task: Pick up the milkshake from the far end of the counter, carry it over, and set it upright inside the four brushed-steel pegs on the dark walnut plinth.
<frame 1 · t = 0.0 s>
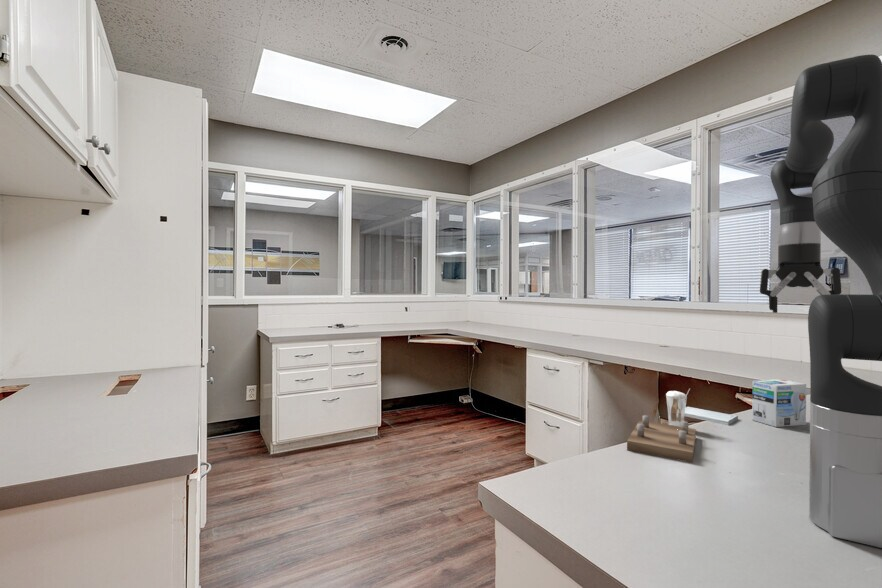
hand: (798, 313, 98), 29 cm above the counter, fingers open, 8 cm apart
light bulb box: (778, 423, 111), on the counter
milkshake: (677, 428, 106), on the counter
hard drive: (706, 419, 116), on the counter
peg plinth: (662, 443, 94), on the counter
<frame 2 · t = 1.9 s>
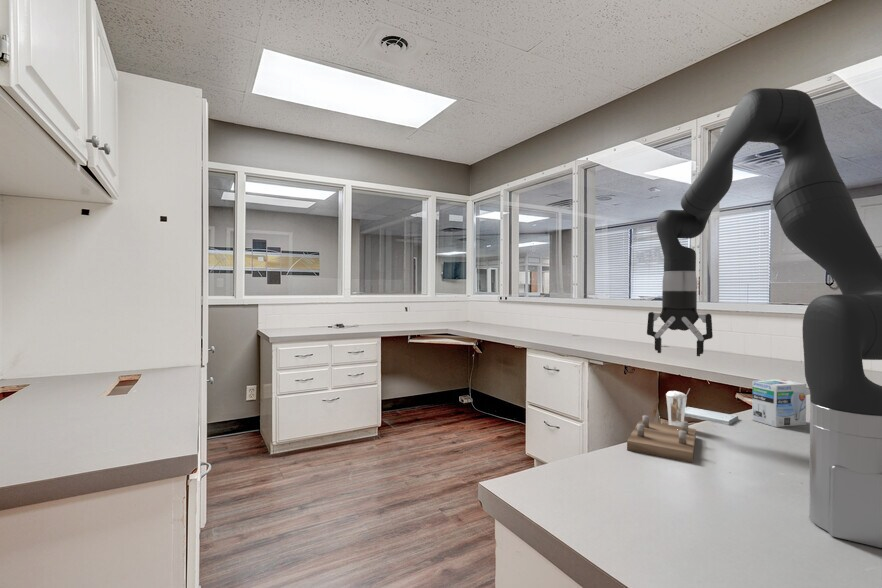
hand: (678, 354, 106), 18 cm above the counter, fingers open, 8 cm apart
nothing on the counter moved.
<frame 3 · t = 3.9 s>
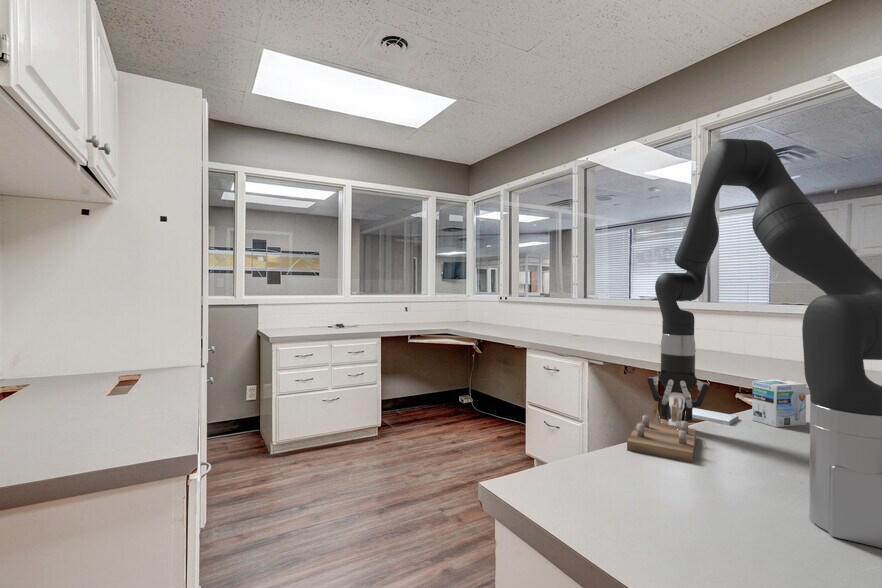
hand: (676, 420, 106), 2 cm above the counter, fingers closed on milkshake, 4 cm apart
milkshake: (677, 428, 106), on the counter, touching gripper
everything else where it was.
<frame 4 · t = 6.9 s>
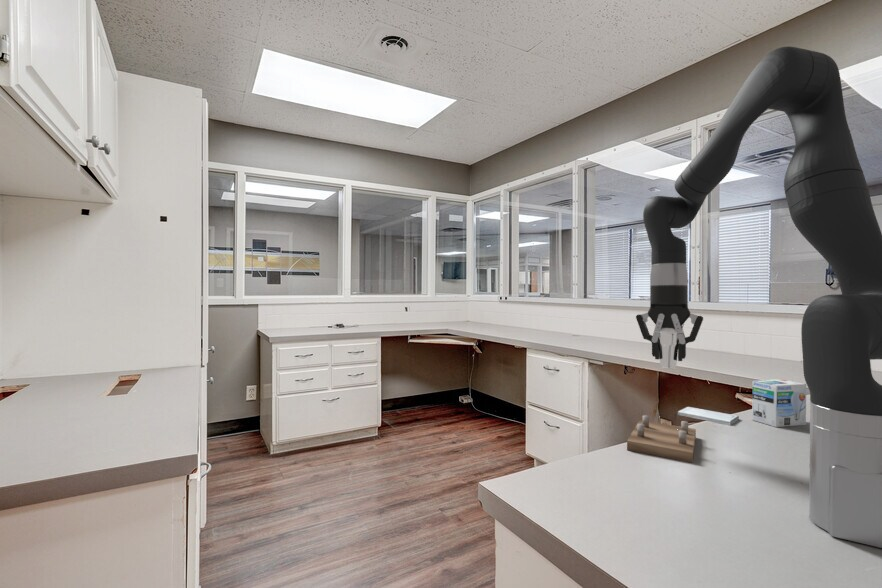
hand: (668, 359, 95), 19 cm above the counter, fingers closed on milkshake, 4 cm apart
milkshake: (670, 368, 95), point 17 cm above the counter, touching gripper
everything else where it was.
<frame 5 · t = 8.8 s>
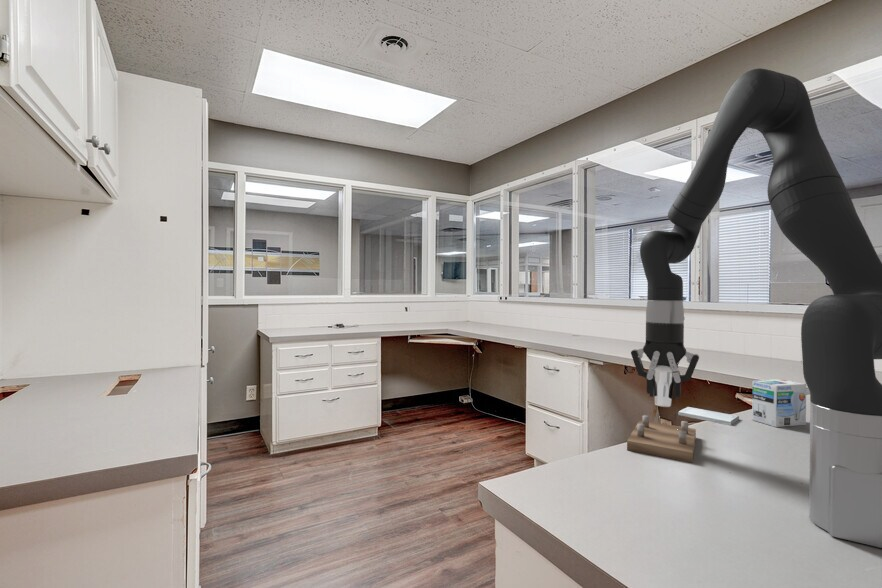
hand: (663, 397, 94), 10 cm above the counter, fingers closed on milkshake, 4 cm apart
milkshake: (664, 406, 94), point 8 cm above the counter, touching gripper
everything else where it was.
when the fingers open (6 cm above the counter, at t = 10.1 s): milkshake drops 2 cm, resting on peg plinth.
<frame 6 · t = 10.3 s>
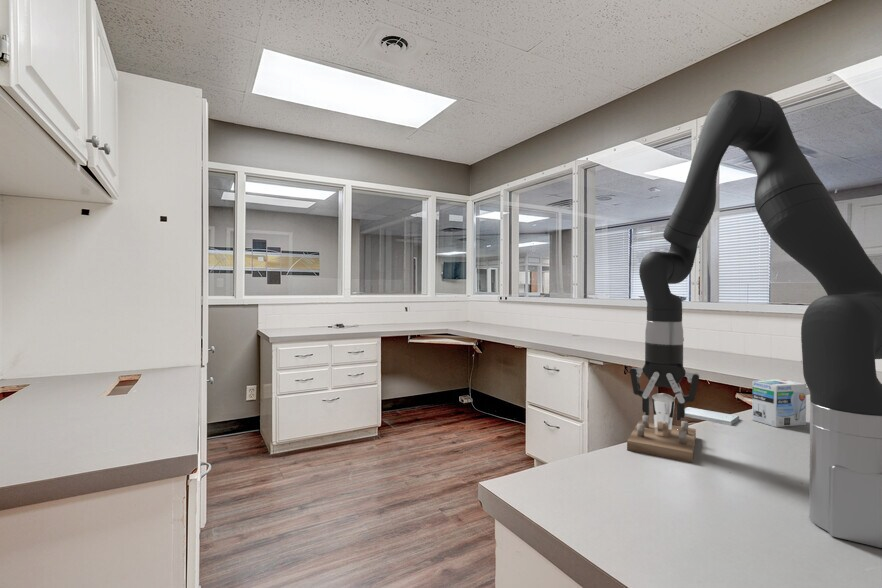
hand: (663, 416, 94), 6 cm above the counter, fingers open, 5 cm apart
milkshake: (664, 435, 94), point 2 cm above the counter, touching peg plinth
everything else where it was.
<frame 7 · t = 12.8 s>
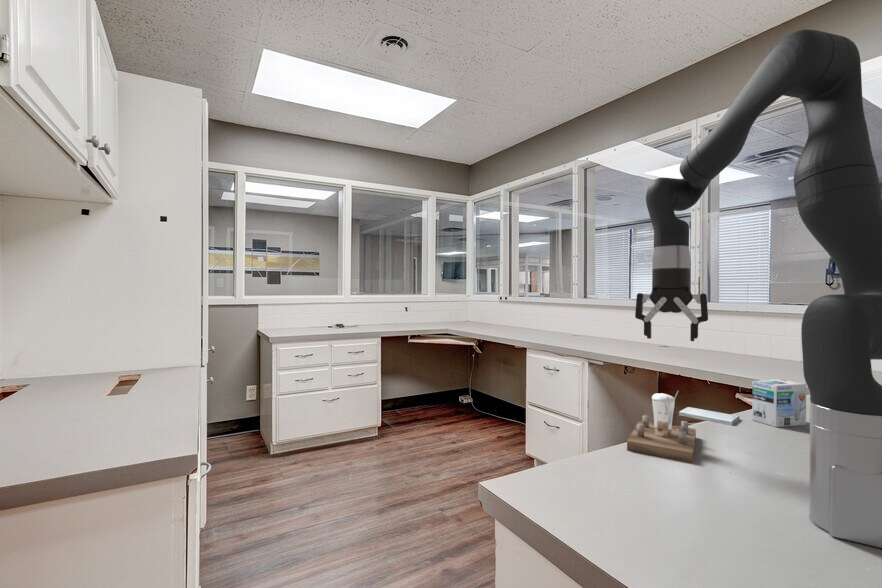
hand: (670, 339, 95), 23 cm above the counter, fingers open, 8 cm apart
nothing on the counter moved.
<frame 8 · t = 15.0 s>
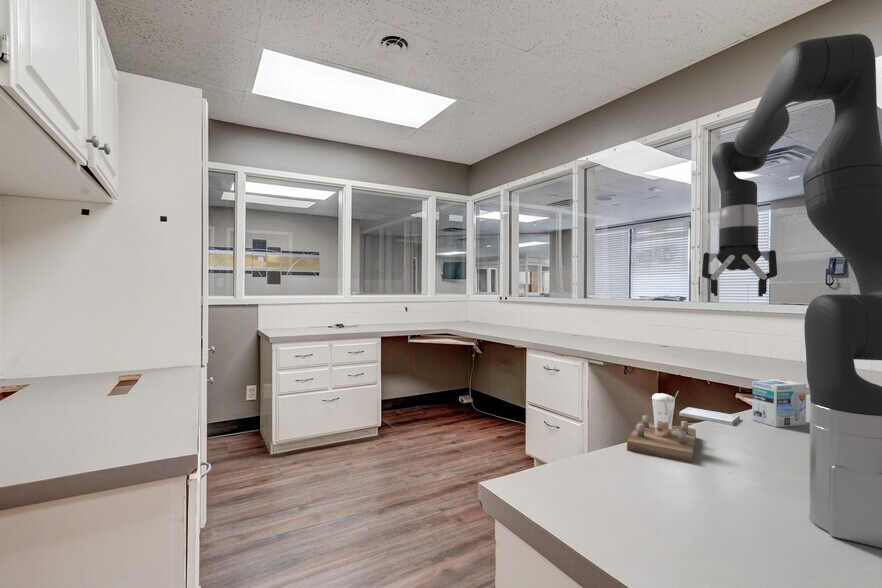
hand: (737, 296, 98), 33 cm above the counter, fingers open, 8 cm apart
nothing on the counter moved.
at the end: milkshake 0.4 cm off-centre on the peg plinth, point 1.8 cm above the peg plinth's base; milkshake tilted 0°; the gripper is holding nothing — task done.
